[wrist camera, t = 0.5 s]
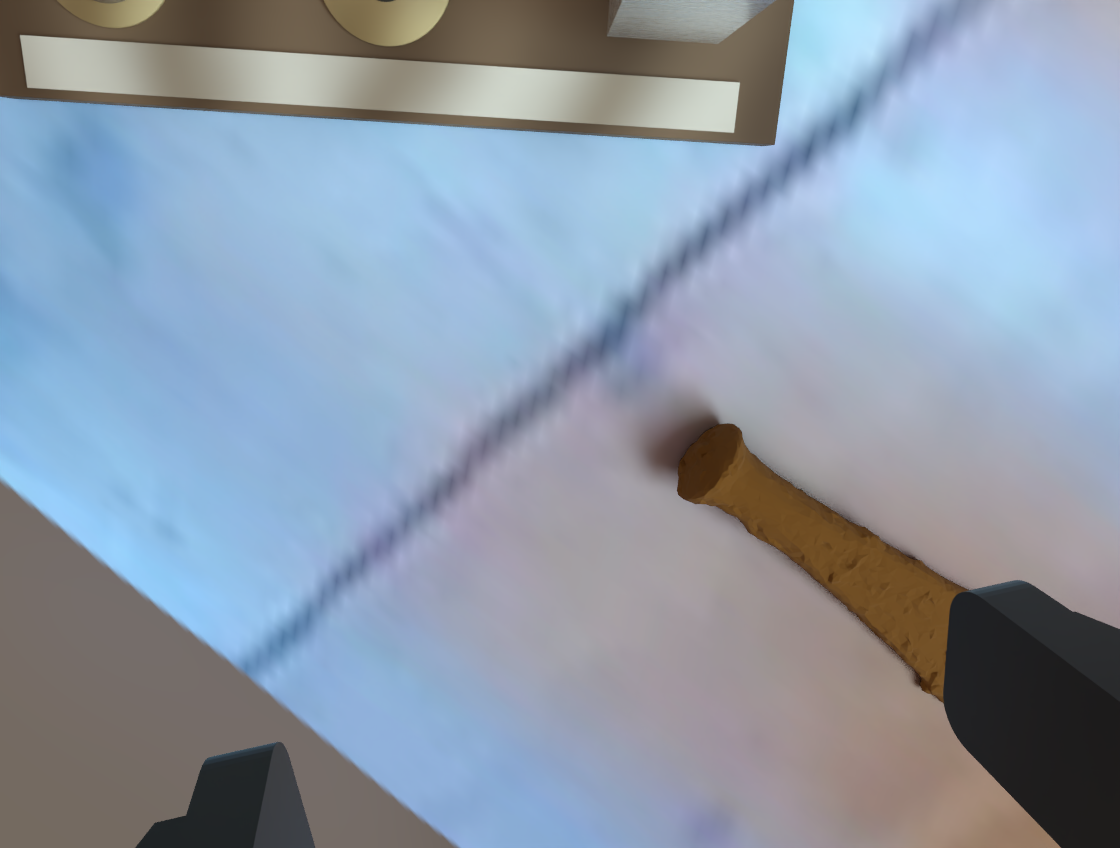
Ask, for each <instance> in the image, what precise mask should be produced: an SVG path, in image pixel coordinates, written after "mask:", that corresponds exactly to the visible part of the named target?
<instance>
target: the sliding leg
mask: <svg viewBox="0 0 1120 848" xmlns="http://www.w3.org/2000/svg"><path fill="white" fill-rule="evenodd" d="M774 1H776V0H609V13H608V27H607V36H609V37H624V38H639V39H653V40H668V41H683V42H698V43H712V44H719V43H720V42H721V41H723V40H724V39H725V38H727V37H728V36H729V35H731V34H732V33H733V32H735V31H736V30H737V29H739V28H740V27H741V26H742V25H744V24H745V23H746V22H748V21H749V20H750V19H752V18H753V17H754V16H756V15H757V14H758V13H760V12H761V11H762V10H764V9H765V8H766V7H768V6H769V5H770V4H772V3H773V2H774Z"/></svg>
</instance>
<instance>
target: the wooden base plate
mask: <svg viewBox="0 0 1120 848" xmlns="http://www.w3.org/2000/svg"><path fill="white" fill-rule="evenodd" d="M793 5H794V0H776V1H774V2H773V3H772V4H770V5H769V6H768V7H766V8H765V9H764V10H762V11H761V12H760V13H758V14H757V15H756V16H754V17H753V18H752V19H750V20H749V21H748V22H746V23H745V24H744V25H742V26H741V27H740V28H739V29H737V30H736V31H735V32H733V33H732V34H731V35H729V36H728V37H727V38H725V39H724V40H723V41H721V42H720V43H719V44H712V43H698V42H683V41H668V40H653V39H639V38H624V37H609V36H607V27H608V13H609V0H0V97H7V98H14V99H29V100H45V101H61V102H76V103H92V104H108V105H124V106H140V107H155V108H171V109H187V110H203V111H218V112H234V113H250V114H266V115H281V116H297V117H313V118H329V119H344V120H360V121H376V122H392V123H408V124H423V125H439V126H455V127H471V128H486V129H502V130H518V131H534V132H549V133H565V134H581V135H597V136H612V137H628V138H644V139H660V140H675V141H691V142H707V143H723V144H739V145H754V146H768V145H775V138H776V130H777V123H778V115H779V108H780V101H781V93H782V86H783V79H784V71H785V64H786V56H787V49H788V42H789V34H790V27H791V19H792V12H793Z"/></svg>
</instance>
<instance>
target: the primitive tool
mask: <svg viewBox="0 0 1120 848" xmlns="http://www.w3.org/2000/svg"><path fill="white" fill-rule="evenodd" d="M678 476H679V480H678V487H677V492H678V495H679V496H680V497H682V498H683V499H685V500H687V501H690V502H692V503H694V504H707V505H710V506H717V507H718V508H720V509H722V510H723V511H725V512H726V513H728V514H730V515H733V516H735V517H737V518H738V519H739V520H740V521H741V522H742V523H743V525H744V526H745V528H746V529H747V531H748V532H749V533H750V534H752V535H754V536H756V537H757V538H758V539H760V540H762V541H764V542H766V543H768V544H770V545H772V546H774V547H776V548H777V549H778V550H780V551H782V552H783V553H785V554H786V555H787V556H789V558H790V559H791V560H793V561H794V562H795V563H797V564H798V565H799V566H801V567H802V568H803V569H804V570H805V571H806V572H808V573H809V574H810V575H811V576H812V577H813V578H814V579H815V580H816V581H818V582H819V583H820V584H821V585H822V586H824V587H825V588H826V589H827V590H828V591H830V592H831V593H832V594H833V595H834V596H835V597H836V598H837V599H839V600H840V601H841V602H842V603H843V604H845V605H846V606H847V608H848V610H849V611H852V612H854V613H856V614H857V616H858V617H859V619H860V621H862V622H864V623H865V624H866V625H867V626H868V627H869V628H871V630H872V631H873V632H874V633H875V634H876V635H877V636H878V637H879V638H881V639H882V640H883V641H884V642H885V643H887V644H888V645H890V646H891V647H892V648H893V649H894V650H895V652H896V653H897V654H898V655H899V656H900V657H901V658H902V659H903V660H904V661H905V662H906V663H907V664H908V665H910V666H911V667H912V668H913V669H914V670H915V671H916V672H917V673H918V675H919V676H920V677H921V683H920V686H921V688H922V691H924V692H926V693H928V694H932V695H935V696H936V697H937V698H938V699H939V700H940V701H941V702H943V703H944V700H943V688H944V675H945V662H946V650H947V637H948V625H949V612H950V606H951V603H952V600H953V599H954V597H955V596H956V595H957V594H959V593H961V592H965V591H969V590H967V589H965V588H963V587H961V586H959V585H957V584H955V583H953V582H951V581H949V580H947V579H945V578H943V577H942V576H940V575H938V574H937V573H936V572H934V571H932V570H931V569H929V568H928V567H927V566H925V565H924V563H923V562H922V561H920V560H913V559H911V558H909V557H907V556H906V555H904V554H903V553H901V552H900V551H899V550H897V549H895V548H893V547H891V546H889V545H888V544H886V543H884V542H882V541H881V540H880V538H879V536H877V535H875V534H873V533H872V532H870V531H869V530H868V529H867V528H866V527H861V526H858V525H856V524H853V523H851V522H849V521H847V520H846V519H844V518H842V517H841V516H840V515H839V514H838V513H836V512H834V511H832V510H831V509H830V508H828V507H827V506H826V505H824V504H822V503H820V502H818V501H817V500H815V499H813V498H812V497H809V496H807V495H806V494H805V493H804V492H803V491H802V490H800V489H797V488H795V487H794V486H793V485H792V484H791V483H790V482H788V481H785V480H784V479H783V478H781V477H780V476H778V475H777V474H775V473H774V472H773V471H772V470H771V469H770V468H768V467H767V466H766V465H765V464H763V463H762V462H761V461H760V460H759V459H758V458H757V457H756V456H755V455H754V454H752V453H750V451H749V450H748V448H747V447H746V445H745V444H744V441H743V438H742V432H741V430H740V429H739V428H738V427H737V426H735V425H734V424H718V425H716V426H715V427H714V428H711V429H709V430H707V431H706V432H704V433H703V434H702V435H701V436H700V437H699V439H698V440H697V442H695V443H693V444H692V445H691V446H690V447H689V449H688V450H687V452H686V454H685V455H684V456H683V458H682V459H681V460H680V463H679V467H678Z"/></svg>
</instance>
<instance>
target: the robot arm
mask: <svg viewBox="0 0 1120 848" xmlns="http://www.w3.org/2000/svg"><path fill="white" fill-rule="evenodd" d="M943 700H944V707H945V711H946V714H947V718H948V720H949V723H950V725H951V727H952V729H953V731H954V733H955V734H956V736H957V738H958V739H959V741H960V742H961V743H962V745H963V746H964V747H965V748H966V749H967V751H968V752H969V753H970V754H971V755H972V756H973V757H974V758H975V759H976V760H977V761H978V762H979V763H980V764H981V765H982V766H983V767H984V768H985V769H986V770H987V771H988V772H989V773H990V774H991V775H992V776H993V777H994V778H995V780H996V781H997V782H998V783H999V784H1000V785H1001V786H1002V787H1003V788H1004V789H1005V790H1006V791H1007V792H1008V793H1009V794H1010V795H1011V796H1012V797H1013V798H1014V799H1015V800H1016V801H1017V802H1018V803H1019V804H1020V805H1021V806H1022V807H1023V809H1024V810H1025V811H1026V812H1027V813H1028V814H1029V815H1030V816H1031V817H1032V818H1033V819H1034V820H1035V821H1036V822H1037V823H1038V824H1039V825H1040V826H1041V827H1042V828H1043V829H1044V830H1045V831H1046V832H1047V833H1048V834H1049V835H1050V836H1051V837H1052V839H1053V840H1054V841H1055V842H1056V843H1057V844H1058V845H1059V846H1060V847H1061V848H1120V629H1118V628H1115V627H1113V626H1110V625H1108V624H1105V623H1103V622H1100V621H1097V620H1095V619H1092V618H1090V617H1087V616H1085V615H1082V614H1080V613H1077V612H1072V611H1071V610H1069V609H1068V608H1066V607H1065V606H1063V605H1062V604H1060V603H1059V602H1057V601H1056V600H1054V599H1053V598H1051V597H1050V596H1048V595H1047V594H1045V593H1044V592H1042V591H1041V590H1039V589H1038V588H1036V587H1035V586H1033V585H1031V584H1030V583H1027V582H1025V581H1020V580H1015V581H1010V582H1005V583H1001V584H996V585H992V586H987V587H983V588H978V589H974V590H969V591H965V592H961V593H959V594H957V595H956V596H955V597H954V599H953V600H952V603H951V606H950V612H949V625H948V637H947V650H946V662H945V675H944V688H943ZM136 848H315V846H314V841H313V838H312V834H311V831H310V828H309V824H308V821H307V817H306V814H305V810H304V807H303V803H302V800H301V796H300V793H299V790H298V786H297V782H296V779H295V776H294V772H293V769H292V765H291V762H290V758H289V755H288V752H287V750H286V748H285V746H284V745H283V743H281V742H276V743H272V744H267V745H263V746H258V747H253V748H249V749H245V750H240V751H235V752H231V753H226V754H222V755H217V756H213V757H209V758H207V759H206V760H205V762H204V764H203V765H202V768H201V770H200V773H199V776H198V780H197V783H196V786H195V789H194V792H193V796H192V799H191V802H190V805H189V808H188V811H187V815H186V816H182V817H178V818H174V819H170V820H165V821H161V822H157V823H154V825H153V826H152V827H151V829H150V830H149V831H148V832H147V834H146V835H145V836H144V838H143V839H142V840H141V841H140V842H139V844H138V845H137V846H136Z"/></svg>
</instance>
